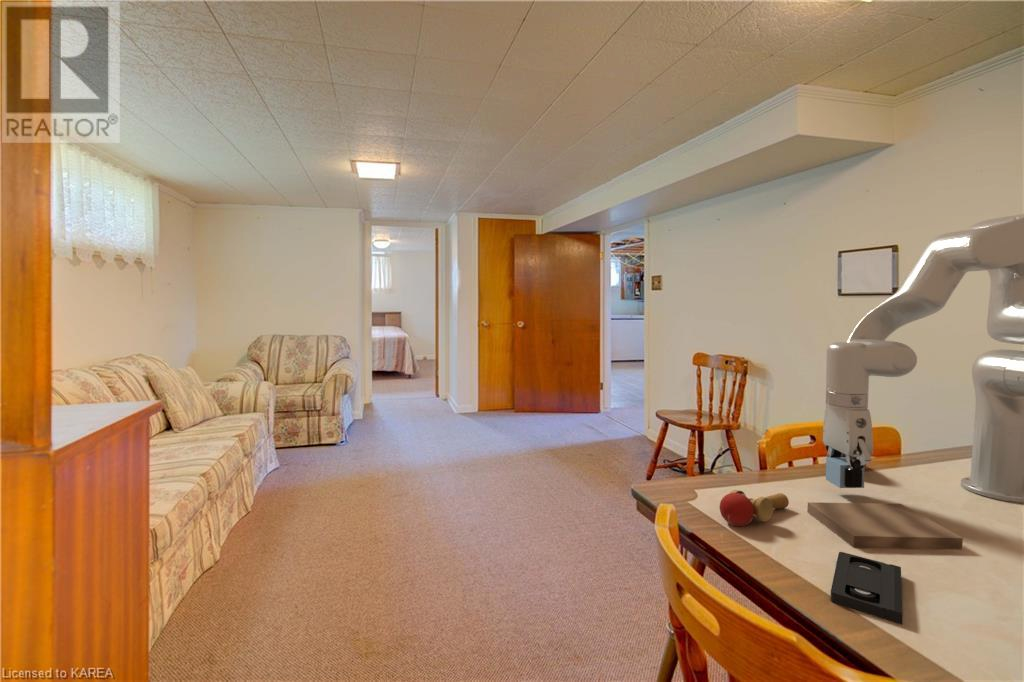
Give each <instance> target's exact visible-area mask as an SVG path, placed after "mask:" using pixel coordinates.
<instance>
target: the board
mask: <svg viewBox="0 0 1024 682" xmlns="http://www.w3.org/2000/svg"><path fill="white" fill-rule="evenodd" d="M807 513H808V514H809V515H810V516H812V517H813V518H815V520H817V521H818V520H819V522H820V523H821V524H822V525H824V526H825V527H826V528H827V529H829V530H830V531H832V532H833V533H834V534H836V536H838V537H839V538H841V539H842V540H843V541H844V542H846V543H847V544H848V545H850V546H851V547H852V548H872V549H873V548H874V549H875V548H877V549H879V548H880V549H881V548H882V549H885V548H886V549H924V550H926V549H927V550H928V549H929V550H932V549H933V550H934V549H935V550H963V541H964V538H963V537H962V536H960V535H959V534H956V533H955V532H953V531H951V530H949V529H947V528H945V527H944V526H942V525H940V524H938V523H936V522H934V521H933V520H931V519H929V518H928V517H925V516H923V514H922V515H921V514H920V513H918V512H916V511H914V510H913V509H911V508H909V507H907V506H905V505H904V504H902V503H875V502H874V503H873V502H870V503H869V502H868V503H867V502H864V503H863V502H814V501H813V502H809V501H808V502H807Z"/></svg>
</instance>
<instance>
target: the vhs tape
mask: <svg viewBox="0 0 1024 682" xmlns="http://www.w3.org/2000/svg"><path fill="white" fill-rule="evenodd" d="M846 586H849V594H848V593H846ZM902 586H903V584H902V567H901V566H899V565H896V564H889V563H885V562H882V561H878V560H875V559H871V558H866V557H862V556H860V555H859V556H858V555H856V554H851V553H847V552H844V551H839V552H838V554H837V560H836V565H835V569H834V574H833V578H832V584H831V590H830V598H829V599H830V600H829V601H830V602H831V603H833V604H836V605H838V606H840V607H841V606H842V607H845V608H848V609H851V610H854V611H858V612H860V613H864V614H867V615H870V616H873V617H876V618H880V619H883V620H885V619H886V621H889V622H892V623H895V624H897V625H898V624H899V625H901V626H902V625H903V616H904V615H903V613H904V610H903V608H904V607H903V589H902ZM877 595H879V599H876V598H877Z"/></svg>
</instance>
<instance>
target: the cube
mask: <svg viewBox="0 0 1024 682" xmlns="http://www.w3.org/2000/svg"><path fill="white" fill-rule="evenodd" d="M825 460H826V461H825V480H826V481H827V482H829V483H830V484H833V485H834V486H836V487H837V488H839V489H849V488H848V487H846V486H845V468H847V461H846V457H838V458H827V457H826V458H825ZM852 461H853V462H854V461H855V460H854V459H852ZM865 470H866V466H864V470H862V486H861V487H854V488H853V489H863V488H865Z"/></svg>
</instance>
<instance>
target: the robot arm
mask: <svg viewBox="0 0 1024 682" xmlns="http://www.w3.org/2000/svg"><path fill="white" fill-rule="evenodd" d="M981 271H982V272H983V271H987V272H988V275H989V278H990V290H989V299H988V309H987V316H986V317H987V318H986V329H987V330H986V331H987V334H988V336H990V337H989V338H991V339H993V340H994V341H997V342H1000V343H1006V344H1015V345H1024V213H1022V214H1016V215H1010V216H1002V217H995V218H991V219H986V220H982V221H979V222H976V223H974V224H972V225H970V226H969V227H968V228H966V229H964V230H959V231H953V232H947V233H943V234H940V235H938V236H935V237H933V238H932V239H931V240H929V242H928V243H927V244H926V245H925V246H924V247H923V250H922V251H921V253H920V255H919V256H918V258H917V259H916V260H915V262H914V264H913V266H912V267H911V269H910V270H909V272H908V274H907V275H906V276H905V278H904V280H903V281H902V283H901V285H900V286H899V287H898V289H897V291H895V293H894V294H892V295H890V296H889V297H888V298H886V299H885V300H883V302H881V303H880V304H879V305H877V306H876V307H874V308H873V309H872V310H870V311H869V312H868V313H867V314H865V315H864V317H863V318H861V319H860V321H858V323H857V324H856V326H855V327H854V329H853V330H852V331H851V333H850V335H849V337H848V338H847V340H846V341H842V342H841V341H838V342H837V341H836V342H832V343H829V345H828V346H827V348H826V364H825V365H826V366H825V369H826V371H825V373H826V375H825V381H826V382H825V409H824V415H823V428H822V429H823V430H822V431H823V432H822V442H823V445H824V446H825V451H827V452H826V453H827V454H826V458H838V457H843V454H845V455H846V461H847V468H845V486H846V487H848V488H847V489H855V488H854V487H861V486H862V470H864V466H865V467H866V466H867V465H868V464H869V463H870V462H872V457H871V456H872V455H873V451H874V437H873V424H872V417H871V412H870V409H869V384H870V382H869V381H870V379H869V378H870V377H871V376H874V377H875V376H876V377H885V378H899V377H903V376H906V375H908V374H909V373H911V372H913V370H914V369H915V368H916V366H917V363H918V356H917V354H916V352H915V351H914V349H913V348H912V347H911V346H909V345H907V344H906V343H902V342H897V341H891V340H887V338H888V337H889V336H890V335H892V333H894V332H895V331H896V330H898V329H899V328H902V327H903V326H906V325H908V324H910V323H913V322H915V321H918V320H921V319H924V318H926V317H929V316H932V315H934V314H936V313H938V312H939V311H941V310H942V309H944V308H945V306H946V304H947V303H948V301H949V299H950V298H951V296H952V294H953V293H954V291H955V290H956V288H957V287H958V285H959V284H960V282H962V281H961V280H962V279H963V278H964V276H965V275H966V274H967V273H969V272H981ZM971 378H972V383H973V389H974V393H975V395H974V396H975V406H974V407H975V409H974V410H975V412H974V425H973V436H972V448H971V449H972V451H971V462H970V463H971V465H970V476H967V477H966V476H965V477H963V478H961V479H960V486H961V487H963V488H964V489H966V490H967V491H969V492H971V493H974V494H978V495H980V496H984V497H988V498H991V499H995V500H1000V501H1006V502H1012V503H1013V502H1014V503H1020V504H1021V503H1022V504H1023V503H1024V350H1016V349H993V350H988V351H986V352H983V353H982V354H980V355H978V356H977V358H975V359H974V362H973V363H972V367H971ZM854 451H856V452H857V454H854ZM852 457H857V459H856V460H855V461H854V462H853V461H852Z"/></svg>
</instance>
